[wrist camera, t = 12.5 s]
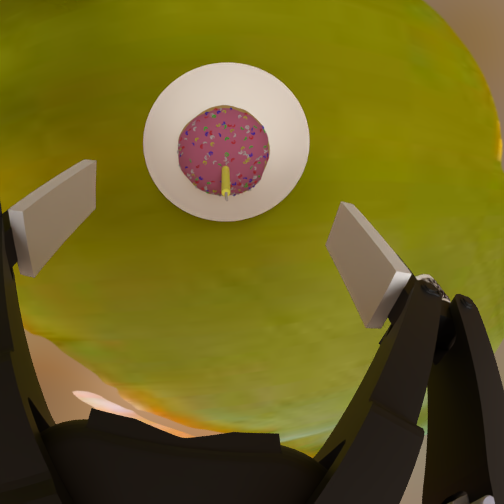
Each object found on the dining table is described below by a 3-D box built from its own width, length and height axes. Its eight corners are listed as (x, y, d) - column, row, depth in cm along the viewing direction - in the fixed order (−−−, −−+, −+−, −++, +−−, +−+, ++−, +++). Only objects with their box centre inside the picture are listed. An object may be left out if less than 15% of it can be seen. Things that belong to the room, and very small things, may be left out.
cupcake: (274, 169, 32) (293, 212, 21) (200, 191, 32) (182, 242, 22) (253, 94, 27) (262, 94, 17) (174, 119, 28) (139, 135, 18)
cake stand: (173, 61, 32) (157, 53, 24) (308, 85, 34) (327, 84, 27) (154, 186, 40) (137, 208, 33) (277, 206, 43) (286, 233, 36)
